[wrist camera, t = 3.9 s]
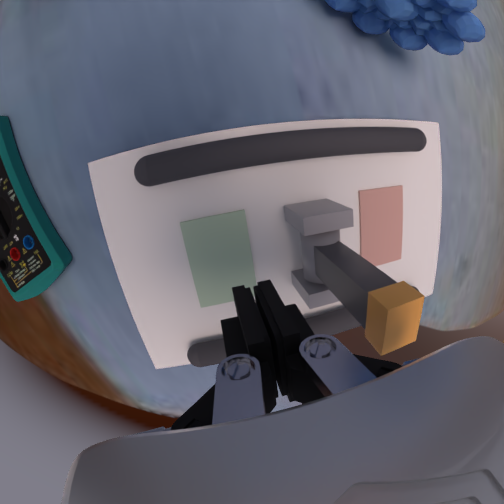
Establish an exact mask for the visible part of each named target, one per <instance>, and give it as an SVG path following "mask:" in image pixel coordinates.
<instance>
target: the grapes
mask: <svg viewBox="0 0 504 504" xmlns="http://www.w3.org/2000/svg"><path fill="white" fill-rule="evenodd" d="M325 1H326V2H327V4H328V5H329V6H330V7H332V8H333V9H335V10H337V11H341V12H353V13H352V20H353V22H354V23H355V25H356V26H357V27H358V28H359V29H360V30H362V31H363V32H365V33H368V34H382V33H386V31H387V30H388V29H389V28H390V36H391V37H392V39H393V41H394V42H395V43H396V44H397V45H398V46H400V47H402V48H404V49H407V50H420V49H423V48H424V47H425V46H426V45H427V43H428V44H429V45H430V46H431V47H432V48H433V49H434V50H436V51H437V52H439V53H441V54H446V55H456V54H459V53H460V52H461V51H463V47H464V42H463V41H466V42H479V41H481V40H482V39H483V38H484V37H485V28H484V26H483V25H482V23H481V21H480V20H479V19H478V18H477V17H476V16H475V15H473V14H472V13H471V12H470V11H471V10H472V9H474V8H475V7H476V6H477V0H325Z"/></svg>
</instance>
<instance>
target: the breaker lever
mask: <svg viewBox="0 0 504 504" xmlns="http://www.w3.org/2000/svg"><path fill="white" fill-rule="evenodd" d="M300 240H301V251H302V263H303V275H304V278H305V279H306V280H307V281H309V282H312V283H318V284H323V283H324V284H325V285H326V286H327V288H328V289H329V290H330V291H331V292H332V293H333V294H334V295H335V296H336V298H337V299H338V300H339V301H340V302H341V303H342V304H343V305H344V306H345V308H346V309H347V310H348V311H349V312H350V313H351V314H352V315H353V317H354V318H355V319H356V320H357V321H358V322H359V323H360V324H361V326H362V327H363V328H364V329H365V337H366V338H367V339H368V341H369V342H370V343H371V344H372V345H373V347H374V348H375V349H376V350H377V351H378V353H379V354H380V355H381V356H382V355H384V354H387V353H389V352H391V351H394V350H396V349H398V348H400V347H402V346H405V345H407V344H409V343H411V342H414V341H416V336H417V332H418V327H419V323H420V318H421V313H422V308H423V302H424V295H423V294H421V293H420V292H419V291H417V290H416V289H415V288H413V287H412V286H410V285H409V284H408V283H406V282H405V281H401V282H398V283H397V282H396V281H395V280H393V279H392V278H391V277H389V276H388V275H387V274H385V273H384V272H383V271H381V270H380V269H378V268H377V267H376V266H374V265H373V264H371V263H370V262H369V261H367V260H366V259H364V258H363V257H362V256H360V255H359V254H357V253H356V252H355V251H353V250H352V249H350V248H349V247H347V246H346V245H344V244H343V243H342V242H340V229H339V230H334V231H329V232H324V233H319V234H314V235H309V236H304V235H302V234H301V233H300Z"/></svg>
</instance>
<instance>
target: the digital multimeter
mask: <svg viewBox="0 0 504 504" xmlns="http://www.w3.org/2000/svg"><path fill="white" fill-rule="evenodd" d="M1 158H2V159H1ZM2 161H3V162H2ZM4 166H5V167H4ZM6 171H7V172H6ZM8 176H9V177H8ZM10 181H11V182H10ZM13 188H14V189H13ZM14 190H15V191H14ZM16 195H17V196H16ZM17 197H18V198H17ZM18 199H19V200H18ZM19 201H20V202H19ZM7 238H8V239H7ZM40 242H41V243H40ZM71 261H72V256H71V253H70V252H69V250H68V249H67V247H66V246H65V244H64V243H63V241H62V240H61V238H60V237H59V235H58V234H57V232H56V230H55V229H54V227H53V225H52V224H51V222H50V220H49V218H48V216H47V215H46V213H45V211H44V209H43V207H42V205H41V203H40V202H39V200H38V198H37V196H36V194H35V192H34V190H33V187H32V185H31V183H30V180H29V178H28V176H27V173H26V171H25V169H24V166H23V164H22V161H21V159H20V156H19V153H18V150H17V147H16V143H15V140H14V137H13V133H12V130H11V126H10V123H9V119H8V117H7V116H0V277H1V279H2V281H3V282H4V284H5V286H6V287H7V289H8V291H9V292H10V294H11V295H12V297H13V298H14V299H15V301H18V302H19V301H23V300H26V299H30V298H32V297H35V296H37V295H39V294H40V293H42V292H43V291H45V290H46V289H47V288H48V287H49V286H50V285H51V284H52V283H53V282H54V281H55V280H56V278H57V277H58V276H59V275H60V274H61V273H62V272H63V271H64V269H65V268H66V267H67V266H68V264H69V263H70V262H71Z"/></svg>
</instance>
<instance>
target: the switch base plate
mask: <svg viewBox="0 0 504 504" xmlns="http://www.w3.org/2000/svg"><path fill="white" fill-rule="evenodd" d="M338 127H409V128H418V129H420V130H421V131H422V132H423V133H424V134H425V136H426V140H427V143H426V146H425V148H424V149H423V150H421V151H418V152H389V153H370V154H355V155H342V156H331V157H321V158H311V159H303V160H294V161H287V162H279V163H272V164H265V165H258V166H252V167H246V168H240V169H234V170H228V171H222V172H217V173H212V174H206V175H201V176H196V177H191V178H187V179H182V180H177V181H173V182H168V183H164V184H160V185H156V186H150V187H147V186H143V185H141V184H140V183H139V182H138V181H137V180H136V178H135V176H134V168H135V165H136V163H137V162H138V160H139V159H140V158H142V157H144V156H146V155H150V154H154V153H158V152H163V151H167V150H171V149H176V148H181V147H185V146H190V145H195V144H200V143H206V142H211V141H217V140H223V139H229V138H235V137H242V136H249V135H257V134H265V133H273V132H283V131H293V130H305V129H319V128H338ZM88 167H89V172H90V177H91V182H92V186H93V191H94V195H95V199H96V204H97V208H98V212H99V215H100V219H101V223H102V227H103V230H104V234H105V237H106V241H107V244H108V247H109V251H110V254H111V257H112V260H113V263H114V266H115V269H116V272H117V275H118V278H119V281H120V284H121V287H122V289H123V292H124V295H125V298H126V300H127V303H128V305H129V308H130V311H131V313H132V316H133V318H134V321H135V323H136V325H137V328H138V330H139V332H140V335H141V337H142V339H143V342H144V344H145V346H146V348H147V351H148V353H149V355H150V357H151V359H152V361H153V363H154V366H155V368H156V369H160V368H167V367H174V366H180V365H187V364H191V363H190V362H189V360H188V357H187V352H188V349H189V348H190V346H192V345H193V344H196V343H200V342H205V341H211V340H216V339H221V338H223V333H222V327H221V321H220V320H223V319H228V318H232V317H237V312H236V307H235V302H234V297H233V292H232V287H236V286H241V285H244V286H245V288H248V287H250V289H251V292H252V294H253V297H254V299H255V295H254V289H253V286H257V282H260V281H265V280H269V279H270V280H271V282H272V284H273V285H274V287H275V289H276V291H277V293H278V294H279V296H280V298H281V300H282V301H283V303H284V305H285V306H286V305H290V304H296V305H297V307H298V309H299V310H300V312H301V313H302V315H303V317H304V318H309V317H313V316H316V315H320V314H323V313H327V312H330V311H334V310H337V309H341V308H344V307H345V306H344V305H343V304H342V303H341V302H340V301H339V300H338V299H337V298H336V296H335V295H334V294H333V293H332V292H331V291H330V290H329V289H328V288H327V286H326V285H325V284H324V283H323V284H318V283H312V282H309V281H307V280H306V279H305V278H304V275H303V263H302V251H301V240H300V233H301V234H302V235H304V236H309V235H314V234H319V233H324V232H329V231H334V230H339V229H340V242H342V243H343V244H344V245H346V246H347V247H349V248H350V249H352V250H353V251H355V252H356V253H357V254H359V255H360V256H362V257H363V258H364V259H366V260H367V261H369V262H370V263H371V264H373V265H374V266H376V267H377V268H378V269H380V270H381V271H383V272H384V273H385V274H387V275H388V276H389V277H391V278H392V279H393V280H395V281H396V282H397V283H398V282H401V281H405V282H406V283H408V284H409V285H410V286H414V287H416V288H417V289H418V290H419V292H420V293H421V294H423V295H424V297H426V296H428V295H431V294H432V293H433V287H434V281H435V274H436V267H437V259H438V250H439V239H440V226H441V206H442V167H441V146H440V134H439V123H435V122H425V121H411V120H392V119H328V120H309V121H295V122H283V123H273V124H263V125H255V126H247V127H240V128H233V129H227V130H220V131H214V132H209V133H203V134H198V135H193V136H188V137H183V138H178V139H173V140H169V141H165V142H160V143H156V144H152V145H148V146H144V147H140V148H137V149H133V150H129V151H126V152H122V153H119V154H115V155H112V156H109V157H105V158H102V159H99V160H96V161H93V162H90V163H88ZM255 302H256V301H255Z"/></svg>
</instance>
